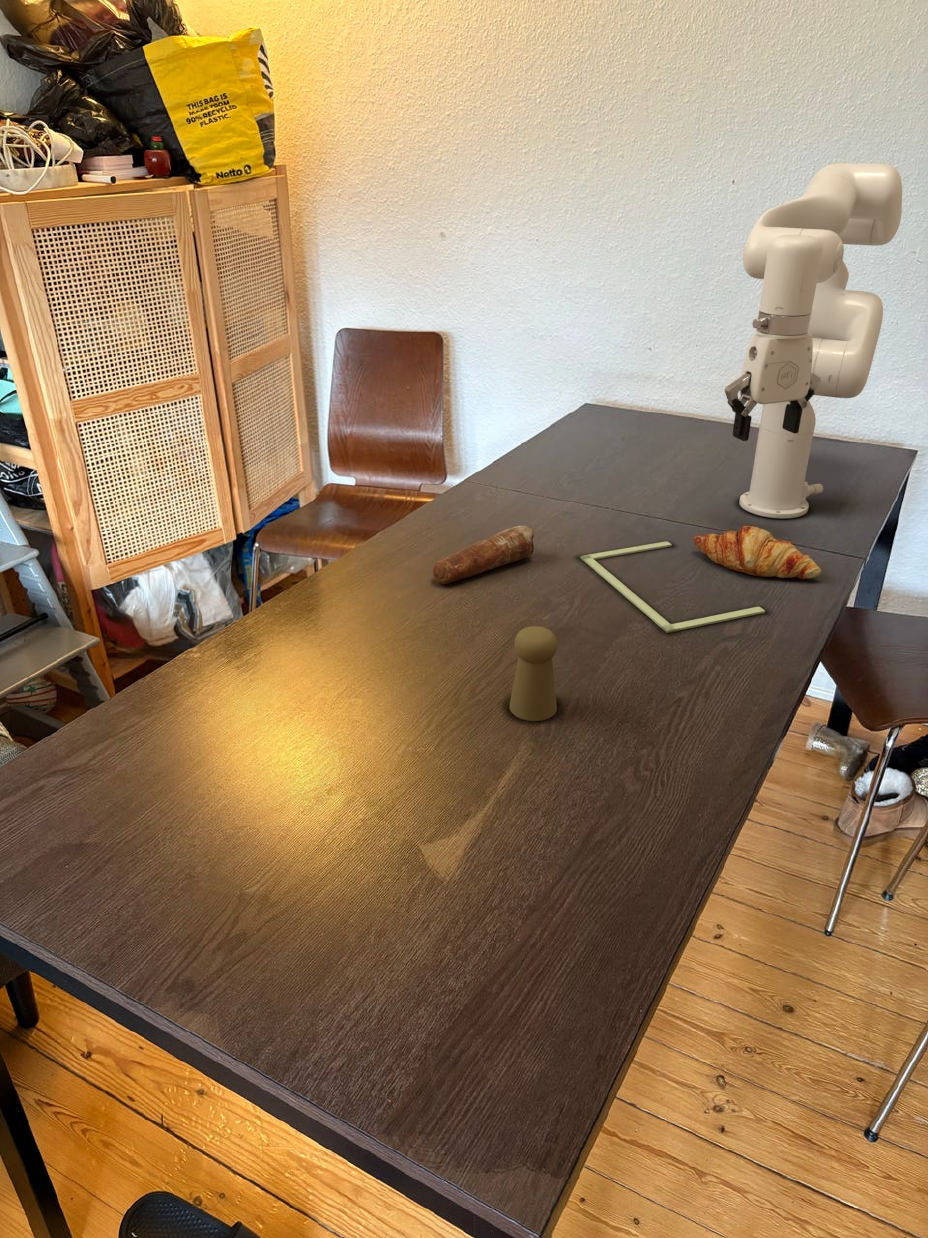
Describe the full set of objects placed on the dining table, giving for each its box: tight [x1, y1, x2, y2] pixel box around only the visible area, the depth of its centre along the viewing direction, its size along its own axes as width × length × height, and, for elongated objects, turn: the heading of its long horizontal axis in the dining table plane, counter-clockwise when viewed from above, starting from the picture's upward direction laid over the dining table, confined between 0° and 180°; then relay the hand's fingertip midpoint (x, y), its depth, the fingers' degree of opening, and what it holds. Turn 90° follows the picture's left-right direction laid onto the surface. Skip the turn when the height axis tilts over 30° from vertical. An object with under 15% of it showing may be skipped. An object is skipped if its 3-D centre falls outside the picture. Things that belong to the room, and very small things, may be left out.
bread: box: [432, 524, 535, 585], centre depth 149 cm, size 6×19×6 cm, turn 126°
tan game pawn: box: [508, 625, 558, 722], centre depth 112 cm, size 6×6×11 cm
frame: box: [579, 540, 766, 634], centre depth 145 cm, size 17×28×1 cm, turn 21°
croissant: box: [693, 524, 822, 580], centre depth 149 cm, size 21×10×8 cm
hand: (765, 434), depth 145 cm, fingers open, 9 cm apart
